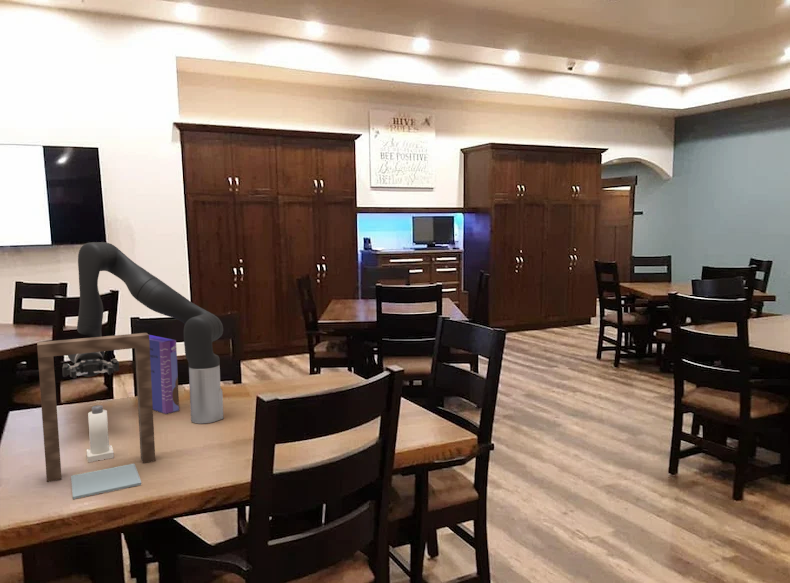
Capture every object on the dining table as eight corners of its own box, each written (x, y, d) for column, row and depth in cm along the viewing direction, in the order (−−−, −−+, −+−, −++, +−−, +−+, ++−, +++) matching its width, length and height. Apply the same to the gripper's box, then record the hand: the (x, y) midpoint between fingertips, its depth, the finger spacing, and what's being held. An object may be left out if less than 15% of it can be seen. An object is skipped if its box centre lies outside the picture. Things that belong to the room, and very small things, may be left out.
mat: (134, 465, 144) (134, 463, 144) (141, 484, 133) (141, 482, 133) (71, 478, 137) (70, 475, 137) (72, 499, 126) (72, 497, 126)
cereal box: (179, 410, 189) (176, 339, 186) (165, 414, 185) (162, 341, 182) (151, 401, 199) (148, 333, 197) (138, 404, 196) (134, 335, 193)
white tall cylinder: (111, 450, 154) (108, 402, 153) (113, 457, 149) (110, 407, 148) (86, 455, 151) (83, 405, 150) (88, 462, 146) (84, 411, 145)
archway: (153, 455, 151) (146, 332, 147) (155, 460, 147) (149, 335, 144) (46, 475, 138) (37, 342, 135) (46, 482, 135) (37, 345, 131)
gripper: (61, 351, 167) (62, 362, 154) (114, 346, 175) (120, 356, 161) (62, 376, 168) (63, 389, 154) (115, 370, 176) (121, 382, 162)
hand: (92, 372), depth 158 cm, fingers open, 8 cm apart
